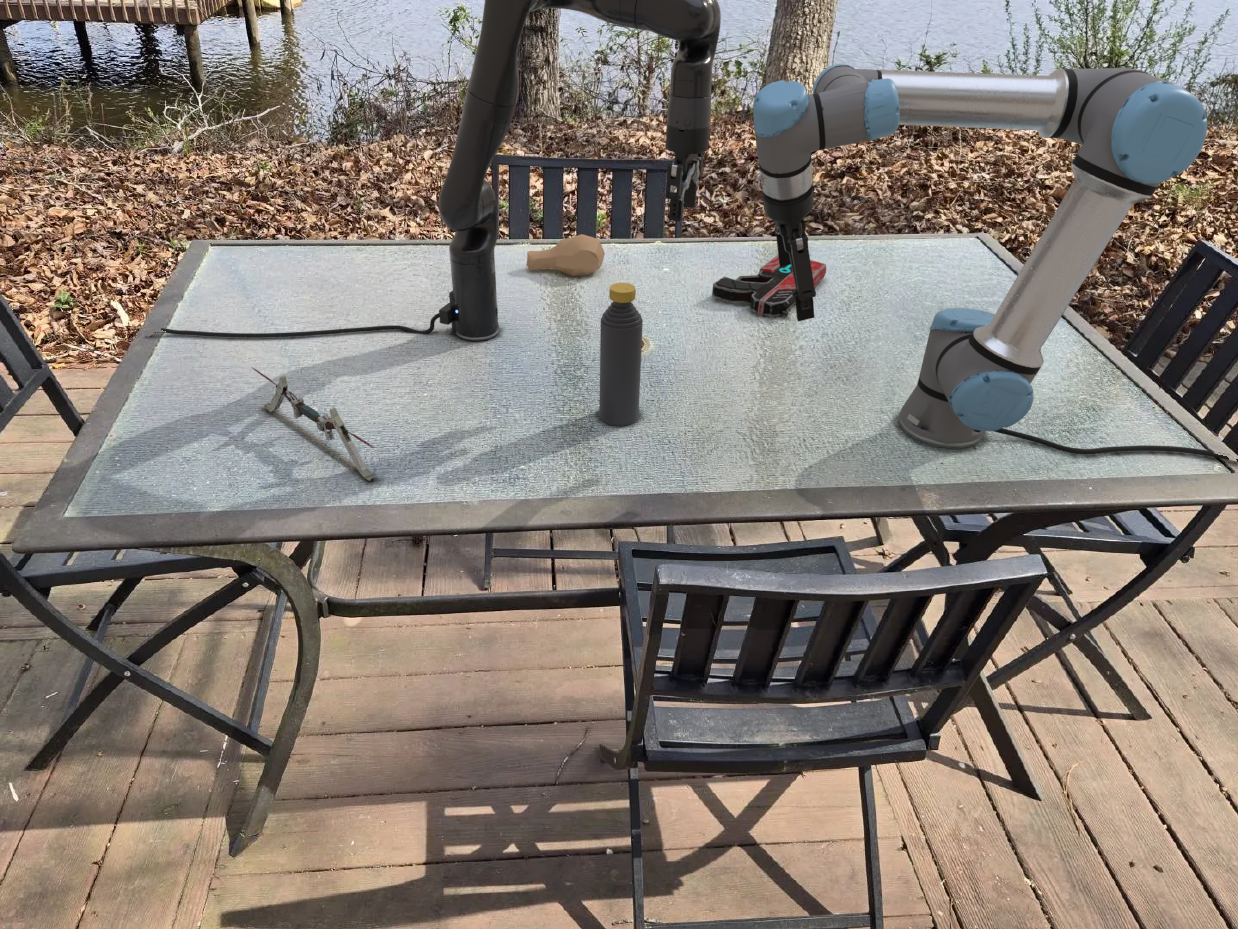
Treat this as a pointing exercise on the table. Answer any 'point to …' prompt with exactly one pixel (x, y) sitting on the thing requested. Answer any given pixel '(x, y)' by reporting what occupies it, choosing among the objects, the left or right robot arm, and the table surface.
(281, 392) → the bow
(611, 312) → the bottle
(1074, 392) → the table surface
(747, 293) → the gun
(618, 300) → the cap
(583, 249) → the squash
